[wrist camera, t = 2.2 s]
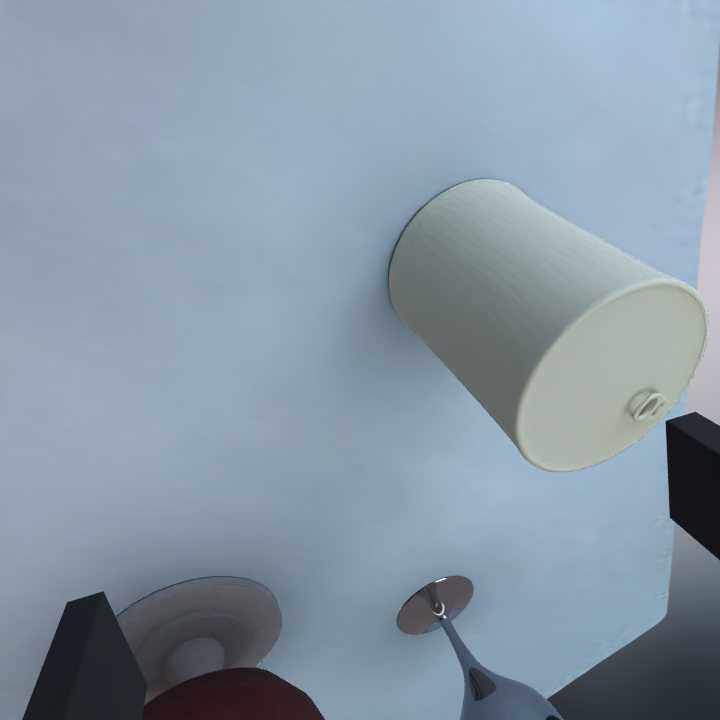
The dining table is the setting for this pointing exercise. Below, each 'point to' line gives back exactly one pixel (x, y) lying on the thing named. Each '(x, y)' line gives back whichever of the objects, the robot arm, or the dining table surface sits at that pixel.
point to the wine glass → (472, 657)
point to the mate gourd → (211, 653)
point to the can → (546, 323)
